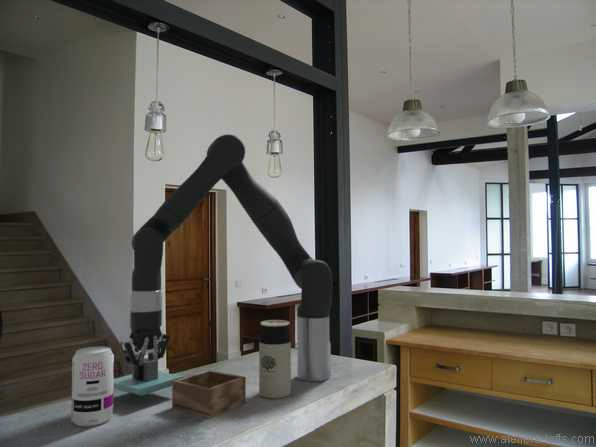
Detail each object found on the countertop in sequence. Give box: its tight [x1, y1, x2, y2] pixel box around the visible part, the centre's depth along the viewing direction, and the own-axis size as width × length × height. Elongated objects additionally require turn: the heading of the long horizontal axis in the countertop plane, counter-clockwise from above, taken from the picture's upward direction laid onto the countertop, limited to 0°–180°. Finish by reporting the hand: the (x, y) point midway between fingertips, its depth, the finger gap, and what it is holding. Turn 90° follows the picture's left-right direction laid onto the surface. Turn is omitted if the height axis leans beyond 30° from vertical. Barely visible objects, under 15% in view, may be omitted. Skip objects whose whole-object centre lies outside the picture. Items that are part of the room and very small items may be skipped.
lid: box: [113, 357, 184, 397], centre depth 116 cm, size 13×13×7 cm
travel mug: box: [258, 319, 292, 400], centre depth 119 cm, size 8×8×18 cm
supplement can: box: [70, 346, 115, 427], centre depth 101 cm, size 8×8×15 cm
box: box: [171, 369, 247, 419], centre depth 111 cm, size 12×12×6 cm
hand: (145, 378), depth 116 cm, fingers closed on lid, 3 cm apart
